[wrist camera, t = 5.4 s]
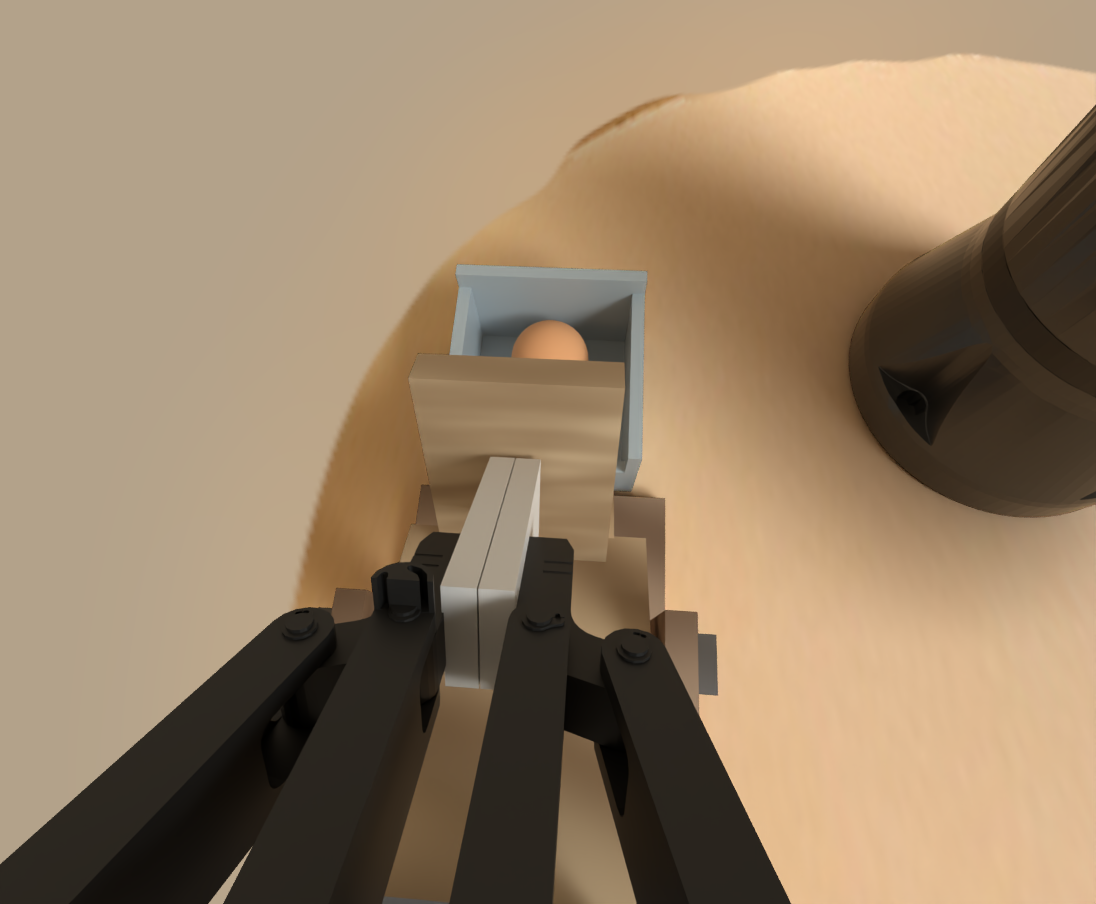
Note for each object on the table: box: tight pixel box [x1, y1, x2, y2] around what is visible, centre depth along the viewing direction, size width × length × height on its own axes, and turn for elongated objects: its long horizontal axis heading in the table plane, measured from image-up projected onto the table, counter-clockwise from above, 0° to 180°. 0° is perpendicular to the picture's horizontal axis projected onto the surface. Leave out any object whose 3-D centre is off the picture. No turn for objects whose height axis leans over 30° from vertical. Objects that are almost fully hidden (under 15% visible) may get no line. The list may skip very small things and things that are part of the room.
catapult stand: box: [319, 485, 718, 714], centre depth 24 cm, size 15×13×10 cm
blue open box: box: [449, 264, 647, 492], centre depth 30 cm, size 9×9×6 cm
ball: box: [511, 320, 588, 361], centre depth 31 cm, size 4×4×4 cm
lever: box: [382, 353, 651, 904], centre depth 17 cm, size 22×9×9 cm
